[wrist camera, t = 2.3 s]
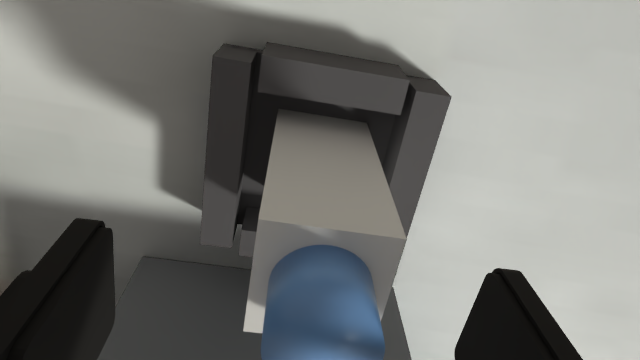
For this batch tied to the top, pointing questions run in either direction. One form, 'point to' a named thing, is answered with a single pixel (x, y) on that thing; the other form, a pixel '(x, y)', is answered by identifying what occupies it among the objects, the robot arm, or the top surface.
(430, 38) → the top surface
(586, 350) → the top surface
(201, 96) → the top surface
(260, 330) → the plug
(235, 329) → the port
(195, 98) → the top surface
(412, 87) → the grey u-shaped cradle
